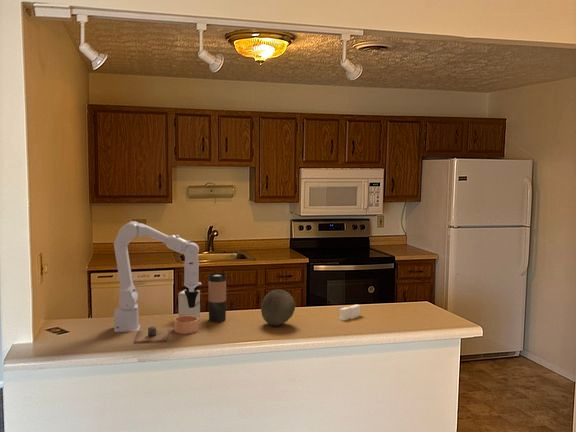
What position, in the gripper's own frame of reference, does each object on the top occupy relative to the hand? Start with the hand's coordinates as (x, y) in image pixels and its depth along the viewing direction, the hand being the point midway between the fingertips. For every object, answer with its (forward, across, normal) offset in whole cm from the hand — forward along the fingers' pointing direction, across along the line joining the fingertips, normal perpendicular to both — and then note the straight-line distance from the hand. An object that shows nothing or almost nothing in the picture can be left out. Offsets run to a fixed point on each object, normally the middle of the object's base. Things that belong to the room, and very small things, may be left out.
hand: (191, 305), depth 221 cm
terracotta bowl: (+10, -3, +2) cm, 11 cm away
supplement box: (+10, +12, +1) cm, 16 cm away
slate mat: (+10, -11, +15) cm, 21 cm away
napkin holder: (+10, +6, -69) cm, 70 cm away
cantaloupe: (+10, 0, -36) cm, 37 cm away
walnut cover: (+9, -11, +15) cm, 21 cm away
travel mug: (+10, +11, -11) cm, 19 cm away
